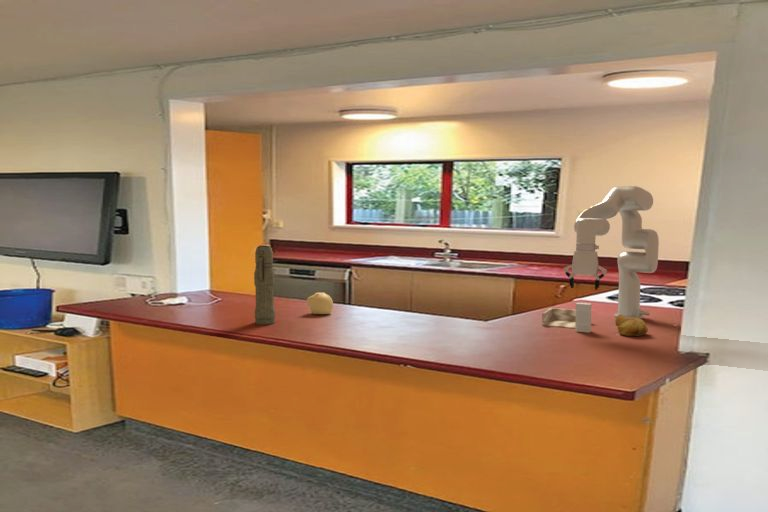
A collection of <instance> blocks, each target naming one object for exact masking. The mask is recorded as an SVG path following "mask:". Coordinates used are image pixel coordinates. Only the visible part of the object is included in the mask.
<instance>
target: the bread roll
mask: <svg viewBox="0 0 768 512" xmlns="http://www.w3.org/2000/svg"><path fill="white" fill-rule="evenodd" d="M646 324H647V323H646V322H645V321H644V319H643V318H642V319H639V318H630V319H629V318H627V317H625V316H623V315H618V316H617V317H615V326H617V331H618V334H620V335H622V336H627V337H631V336H632V337H639V336H643V335H646V334H647V333H648V332H649V328H648V327H647V325H646Z"/></svg>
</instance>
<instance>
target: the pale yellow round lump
mask: <svg viewBox="0 0 768 512" xmlns="http://www.w3.org/2000/svg"><path fill="white" fill-rule="evenodd" d="M306 302H307V307H309V310H310V312H311V314H313V315H329V314H331V313H332V311H333V308H334V301H333V299H332V297H331V296H330V295H329V294H327V293H326V292H321V291H320V292H315V293H313V295H311V296H308V297H307V299H306Z"/></svg>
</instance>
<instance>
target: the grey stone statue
mask: <svg viewBox="0 0 768 512" xmlns="http://www.w3.org/2000/svg"><path fill="white" fill-rule="evenodd" d="M254 255H255V256H254V258H255V269H254V273H253V277H254V278H253V279H254V280H253V283H254V286H255V287H254V288H255V309H254V319H255V323H254V325H258V326H269V325H274V324H275V323H276V321H275V319H276V309H275V306H274V305H275V303H274V302H275V301H274V299H275V298H274V297H275V296H274V286H275V271H274V268H273V267H274V266H273V262H274V257H273V256H274V254H273V249H272V247H271V246H270V245H258V246H257V247H256V250H255V254H254Z"/></svg>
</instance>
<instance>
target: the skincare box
mask: <svg viewBox="0 0 768 512" xmlns="http://www.w3.org/2000/svg"><path fill="white" fill-rule="evenodd" d="M575 310H576V326H575V329H574V330H575V332H576V333H587V334H588V333H591V331H592V303H591V302H590V303H589V302H576V303H575Z"/></svg>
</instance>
